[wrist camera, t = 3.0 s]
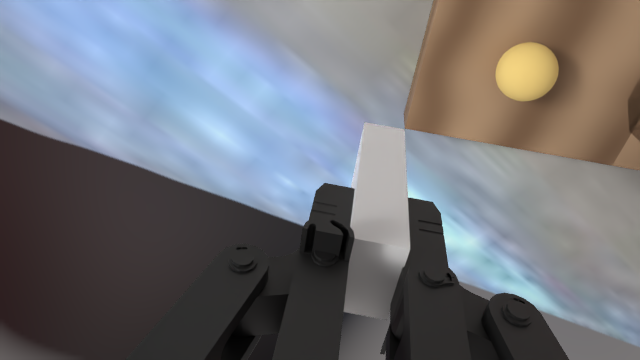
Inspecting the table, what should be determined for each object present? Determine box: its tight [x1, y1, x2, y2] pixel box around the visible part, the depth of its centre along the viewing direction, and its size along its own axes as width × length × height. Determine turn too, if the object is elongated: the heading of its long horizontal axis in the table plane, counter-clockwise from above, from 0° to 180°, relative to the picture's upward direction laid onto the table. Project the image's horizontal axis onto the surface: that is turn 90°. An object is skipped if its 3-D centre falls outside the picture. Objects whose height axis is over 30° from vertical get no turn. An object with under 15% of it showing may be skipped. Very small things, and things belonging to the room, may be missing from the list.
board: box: [404, 0, 640, 170], centre depth 30 cm, size 26×12×2 cm, turn 82°
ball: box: [495, 42, 559, 101], centre depth 27 cm, size 4×4×4 cm
